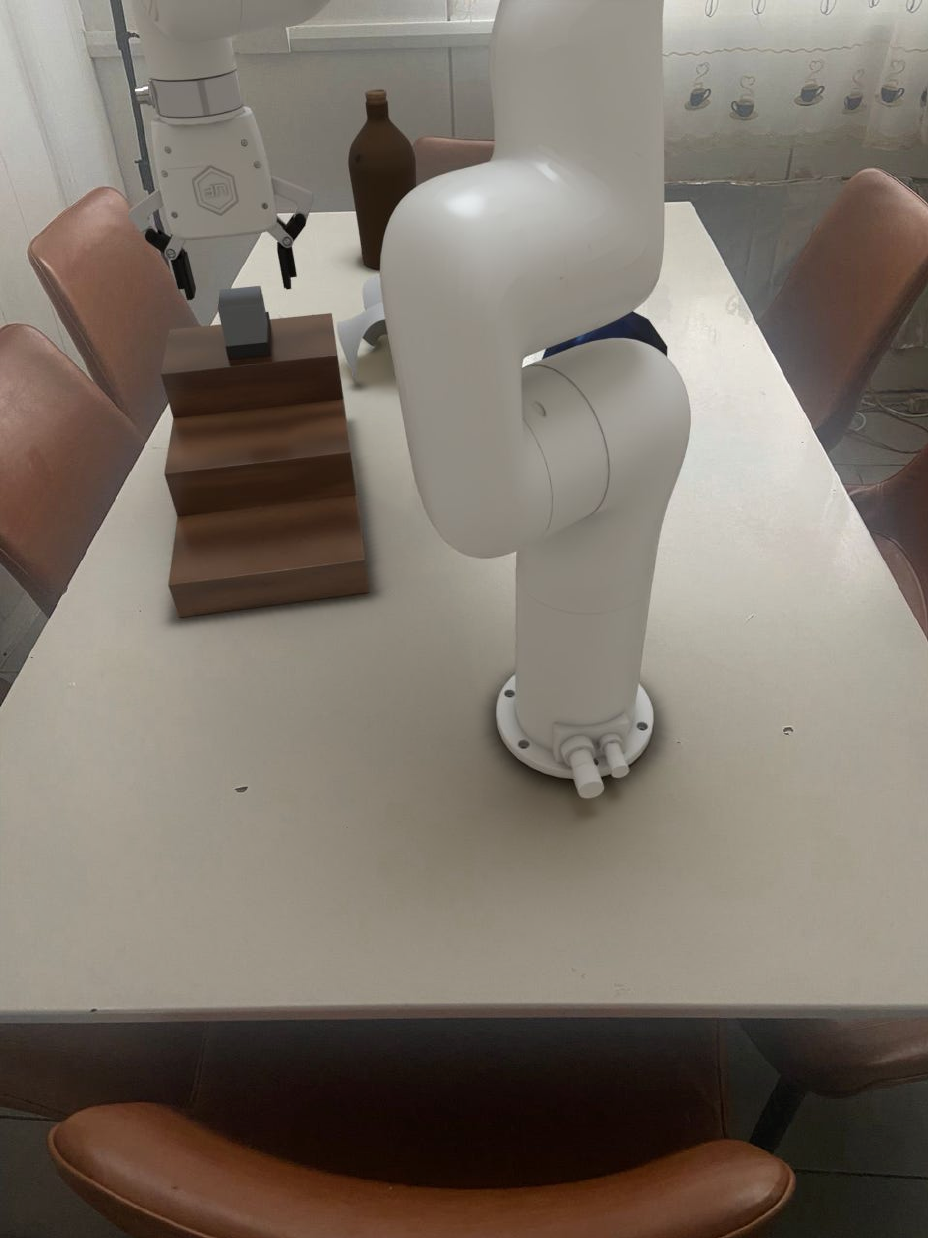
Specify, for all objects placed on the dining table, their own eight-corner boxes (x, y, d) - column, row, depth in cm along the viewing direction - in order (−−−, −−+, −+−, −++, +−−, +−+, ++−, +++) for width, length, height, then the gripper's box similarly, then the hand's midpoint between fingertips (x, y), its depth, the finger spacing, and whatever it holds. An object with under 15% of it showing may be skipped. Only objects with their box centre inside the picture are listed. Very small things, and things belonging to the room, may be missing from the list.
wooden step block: (369, 592, 85) (352, 467, 76) (178, 617, 84) (136, 493, 74) (347, 423, 110) (331, 312, 100) (199, 440, 108) (169, 329, 99)
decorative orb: (519, 420, 98) (609, 311, 90) (511, 359, 109) (591, 257, 101) (616, 482, 104) (709, 384, 96) (599, 418, 115) (681, 325, 107)
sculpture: (374, 308, 135) (367, 242, 129) (497, 311, 133) (496, 244, 126) (331, 386, 117) (321, 314, 111) (474, 391, 115) (471, 318, 108)
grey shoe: (271, 355, 93) (261, 304, 89) (228, 360, 92) (216, 308, 89) (270, 324, 99) (261, 274, 95) (230, 328, 98) (219, 278, 94)
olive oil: (414, 272, 145) (401, 99, 129) (351, 270, 147) (331, 99, 130) (428, 249, 153) (417, 83, 136) (368, 247, 155) (351, 83, 138)
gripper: (91, 114, 75) (149, 313, 86) (297, 96, 77) (327, 294, 88) (104, 97, 81) (156, 285, 92) (295, 80, 82) (324, 267, 93)
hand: (240, 289), depth 90 cm, fingers open, 9 cm apart
